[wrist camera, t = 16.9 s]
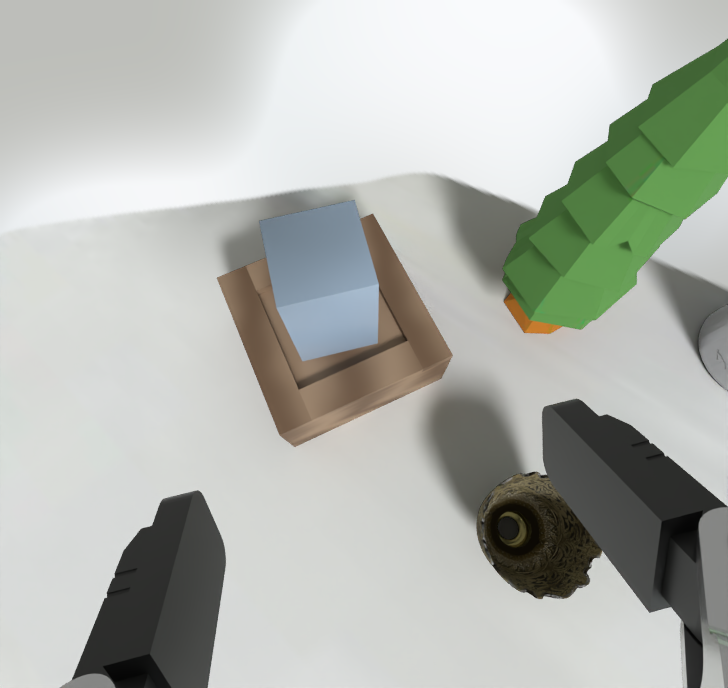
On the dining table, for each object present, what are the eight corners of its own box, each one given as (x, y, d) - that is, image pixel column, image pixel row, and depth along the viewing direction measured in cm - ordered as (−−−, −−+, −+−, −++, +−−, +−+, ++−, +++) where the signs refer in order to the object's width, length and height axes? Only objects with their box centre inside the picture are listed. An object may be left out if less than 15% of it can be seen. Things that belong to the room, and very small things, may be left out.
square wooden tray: (373, 255, 45) (372, 213, 39) (440, 379, 41) (452, 355, 35) (240, 311, 44) (216, 277, 37) (295, 447, 39) (279, 435, 33)
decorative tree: (594, 353, 41) (1074, 8, 13) (488, 355, 41) (731, 19, 13) (576, 257, 44) (925, -184, 16) (477, 259, 45) (654, -173, 16)
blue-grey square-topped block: (359, 277, 38) (354, 199, 28) (377, 343, 36) (378, 284, 26) (288, 293, 38) (259, 220, 28) (302, 361, 36) (276, 307, 26)
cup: (490, 460, 38) (518, 448, 31) (572, 514, 37) (622, 516, 29) (443, 541, 36) (460, 549, 29) (527, 601, 35) (569, 627, 27)
